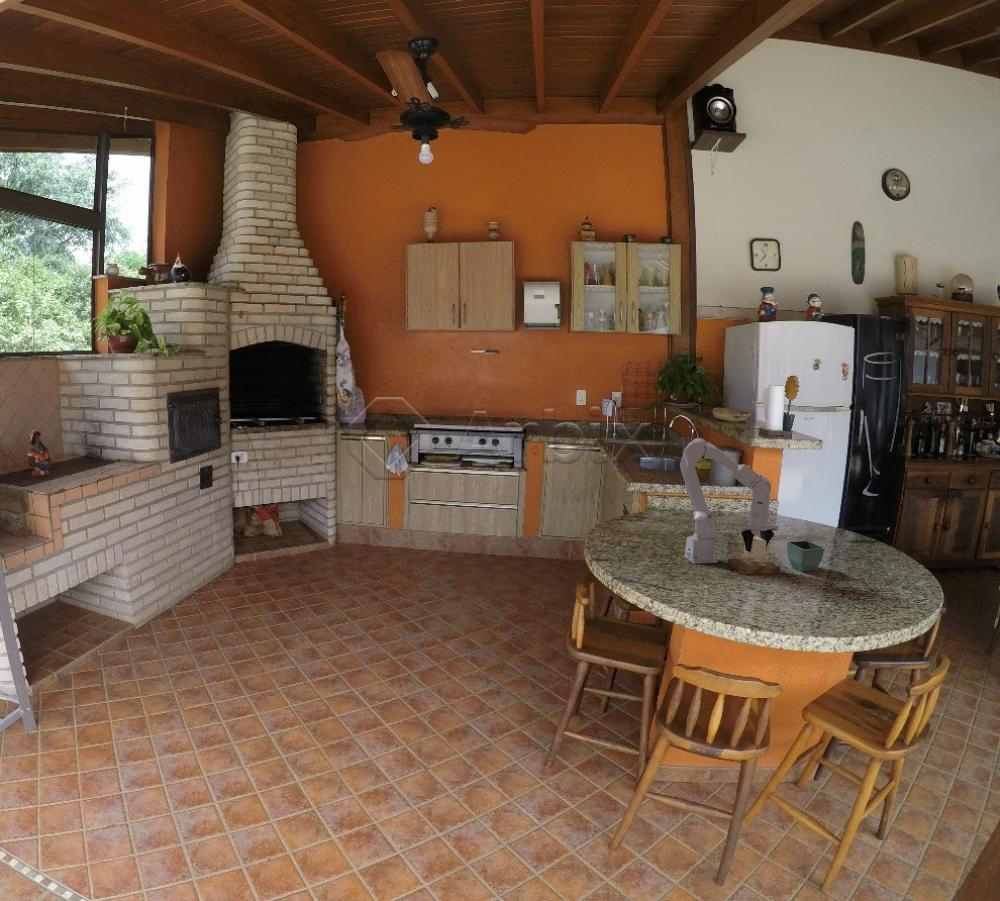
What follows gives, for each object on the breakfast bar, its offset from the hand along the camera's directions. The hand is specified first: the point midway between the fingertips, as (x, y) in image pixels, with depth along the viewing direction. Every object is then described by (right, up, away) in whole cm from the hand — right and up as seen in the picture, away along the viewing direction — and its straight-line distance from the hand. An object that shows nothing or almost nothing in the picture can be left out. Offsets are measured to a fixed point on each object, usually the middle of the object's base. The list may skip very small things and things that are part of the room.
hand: (755, 550), depth 220 cm
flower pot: (+18, -7, +3) cm, 19 cm away
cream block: (0, -2, +1) cm, 2 cm away
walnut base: (0, -6, +1) cm, 6 cm away
